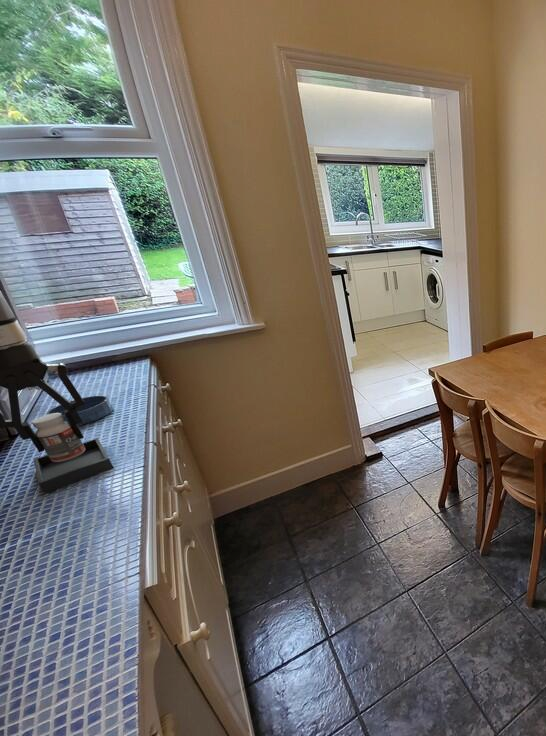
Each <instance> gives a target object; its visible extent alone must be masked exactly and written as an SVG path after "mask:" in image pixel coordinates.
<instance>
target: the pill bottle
mask: <svg viewBox="0 0 546 736" xmlns="http://www.w3.org/2000/svg"><path fill="white" fill-rule="evenodd" d="M31 424H32V426H33V428H34V429H36V431H34V432H35V435H36V437H37V439H38V440H39V442H40V443H41V445H42V447H43V448H44V451H45V453H46V455H48V456H49V458H50V459H51V461H53V462H62V461H67V460H70V459H73V458H75V457H77V456H79V455H81V454H82V453H83V452H84V451H85V447H84V445H83V443H84V442H82V440H81V439H79V437H78V436H77V434H76V432H75V431H74V429H73V427H72V426H71V424H70V423H69V422H66V421H64V417H63V415H62V414H61V413H52V414H48V415H46V414H45V415H42V416H39V417H37V418H35V419H33V420H32V421H31Z"/></svg>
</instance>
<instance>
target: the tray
mask: <svg viewBox="0 0 546 736" xmlns="http://www.w3.org/2000/svg"><path fill="white" fill-rule="evenodd" d="M82 443H83V445H84V447H85V451H84V452H83V453H82V454H81V455H79V456H77V457H75V458H73V459H70V460H67V461H62V462H53V461H51V459H50V458H49V456H48V455H47V454H46V455H43V456H39V457H36V458H33V463H34V469H35V473H36V478H37V484H38V485H39V487H40V489H41V490H42V492H43V493H44V494H48V493H51V492H53V491H57V490H58V489H61V488H65V487H67V486H69V485H72V484H75V483H77V482H81V481H83V480H85V479H88V478H91V477H94V476H96V475H98V474H101V473H103V472H106V471H109V470H111V469H115V467H114V465H113V463H112V461H111V459H110V458H109V456H108V454H107V452H106V450H105V449H104V447H103V444H102V443H101V441H100V439H99V437H96V438H94V439H90V440H88V441H85V442H82Z"/></svg>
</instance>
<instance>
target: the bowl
mask: <svg viewBox="0 0 546 736" xmlns="http://www.w3.org/2000/svg"><path fill="white" fill-rule="evenodd" d="M82 399H83V400H84V403H85V404H84V405H83V406H80V407H78V408H77V412H78V413H79V415H80V417H81V419H82V423H79V424H77V425H78V427H79V426H84V425H87V424H90V423H93V422H95V421H98V420H100V419H102V418H104V417H106V416H108V415H109V414H111V413H112V412H113V410H114V408H113V406H112V404H111V402H110V400H109V398H108V397H107V395H106V396H105V395H91V396H86V397H82ZM74 401H75V400H74V399H73V400H70V402H71V403H72V402H74ZM65 410H67V409H65V408H64V407H63V406H62V405H60V404H59V405H56V406H54V407H52V408H51V409H49V410H48V411H47V412H46V413H45V415H48V414H52V413H61V414H62V415H63V417H64V421H66V422H69V420H68V419H67V417H66V415H65V413H64V411H65ZM69 423H70V422H69Z"/></svg>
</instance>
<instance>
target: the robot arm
mask: <svg viewBox="0 0 546 736" xmlns="http://www.w3.org/2000/svg"><path fill="white" fill-rule="evenodd" d="M27 339H28V336H27V334H26V333H25V331H24V329H23V328H22V325H21V324H20V322H19V320H17V317H16V316H15V314H14V312H13V311H12V309H11V307H10V305H9V303H8V301H7V300H6V298H5V295H4V294H3V292H2V291H1V290H0V387H2V388H4V389H7V394H8V403H9V410H10V417H11V419H6V416H5V415H4V414H3V412H2V410H1V409H0V429H5V428H6V429H7V428H13V429H14V430H15V431H16V432H17V434H18V435H19V437H20V439H22V440H23V441H26V440H30V441H31V442H32V443H33V445H34V446H35V448H36V450H37V451H38V452H39V453H42V452H44V451H45V450H44V448H43V447H42V445H41V443H40V442H39V440H38V439H37V437H36V435H35V432H36V431H34V429H33V428H32V426H31V424H30V423H29V421H28V420H27V421H24V422H23V421H22V416H21V408H20V400H19V391H23V390H26V389H28V388H35V387H38V388H39V389H40V390H42V391H43V392H45V393H46V394H47V395H48V396H49V397H50V398H52V399H53V400H54V401H55V402H57V403H58V404H59V405H62V406H63V407H64V408H65V409H67V410H65V411H64V413H65V415H66V417H67V419H68V420H69V422H70V424H71V426H72V427H73V429H74V431H75V432H76V434H77V436H78V437H79V439H80V440H81V439H84V438H85V436H84V434H83V432H82V430H81V429H80V427H79V426H78V425H77V424H79V423H82V419H81V417H80V415H79V413H78V412H77V408H78V407H80V406H83V405H84V404H85V403H84V400H83V399H82V398H83V397H82V396H81V394H80V393H79V391H78V389H77V388H76V387H75V385H74V383H73V382H72V380H71V379H70V377H69V375H68V373H67V367H66V364H65V363H63V362H59V363H57V364H55V363H54V364H53V363H51V364H50V363H49V364H47V363H46V362H44V361H42V360H41V359H40V356H39V355H38V354H37V351H36V350H35V348H34V347H33V345H32V343H31V342H29V341H26V340H27ZM48 371H51V373H52V374H54V375H58V378H59V379H60V381H61V382H62V384H63V386H64V387H65V388H66V390H67V391H68V393H69V395H70V397H71V398H72V399H73V400H75V401H74V402H72V403H71V402H70V401H71V400H70V401H69V400H68V398H66V397H65V396H64V395H62V393H60V392H59V391H58V390H57V389H56V388H55V387H53V386H52V385H51V384H49V382H48V381H46V380H45V378H46V374H47V372H48Z"/></svg>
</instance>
